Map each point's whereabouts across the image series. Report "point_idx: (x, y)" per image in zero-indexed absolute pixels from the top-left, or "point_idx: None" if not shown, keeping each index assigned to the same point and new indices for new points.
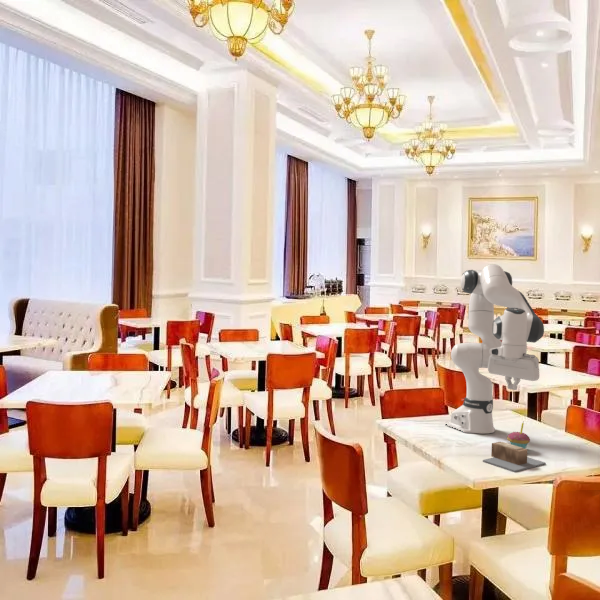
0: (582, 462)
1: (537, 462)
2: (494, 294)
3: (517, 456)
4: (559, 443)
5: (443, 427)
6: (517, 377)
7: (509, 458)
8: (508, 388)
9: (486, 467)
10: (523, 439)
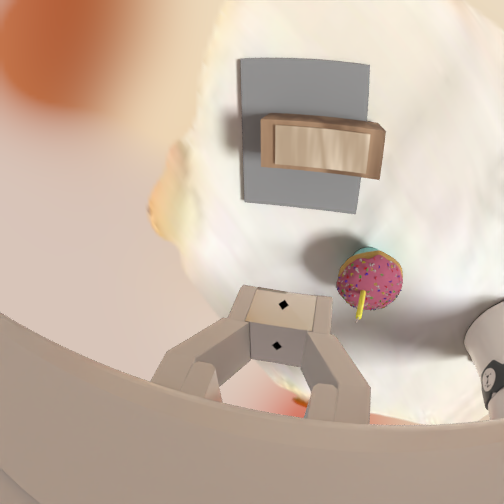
0: (214, 281)
1: (257, 184)
2: None
3: (270, 116)
4: None
5: None
6: (104, 374)
7: (304, 116)
8: (322, 296)
9: (320, 24)
10: (345, 270)
